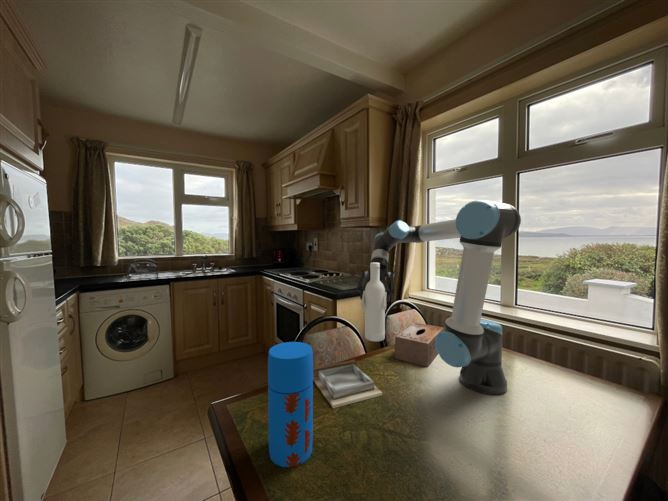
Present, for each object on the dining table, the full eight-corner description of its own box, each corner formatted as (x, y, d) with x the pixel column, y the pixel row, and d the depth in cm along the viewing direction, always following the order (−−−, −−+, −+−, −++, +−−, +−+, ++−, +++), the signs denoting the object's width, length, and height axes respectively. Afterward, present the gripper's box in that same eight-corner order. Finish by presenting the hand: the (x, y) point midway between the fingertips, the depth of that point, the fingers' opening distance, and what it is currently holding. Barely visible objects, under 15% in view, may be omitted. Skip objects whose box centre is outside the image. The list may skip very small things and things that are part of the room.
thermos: (272, 435, 71) (271, 342, 70) (312, 432, 72) (312, 340, 71) (265, 469, 60) (264, 360, 59) (312, 466, 61) (312, 358, 60)
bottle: (388, 340, 104) (388, 263, 102) (369, 342, 101) (369, 263, 100) (379, 333, 111) (379, 261, 110) (361, 335, 109) (361, 262, 108)
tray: (382, 395, 90) (382, 383, 90) (332, 408, 83) (332, 395, 82) (354, 369, 108) (354, 359, 108) (312, 378, 101) (312, 367, 101)
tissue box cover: (414, 341, 140) (414, 322, 139) (443, 347, 131) (443, 327, 131) (395, 358, 119) (395, 336, 118) (428, 367, 110) (428, 343, 110)
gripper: (404, 268, 117) (401, 314, 102) (357, 266, 123) (349, 310, 108) (403, 256, 111) (400, 304, 97) (355, 256, 118) (345, 300, 103)
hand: (373, 307), depth 103 cm, fingers closed on bottle, 8 cm apart
